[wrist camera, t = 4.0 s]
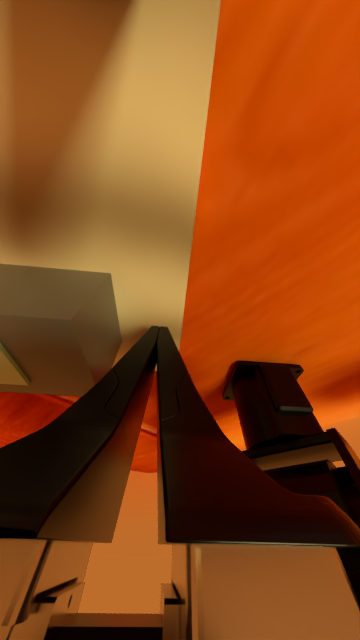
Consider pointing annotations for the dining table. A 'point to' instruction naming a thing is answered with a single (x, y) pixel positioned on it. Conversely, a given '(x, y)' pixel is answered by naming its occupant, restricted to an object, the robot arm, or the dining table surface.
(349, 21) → the dining table surface
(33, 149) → the subfloor board
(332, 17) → the dining table surface
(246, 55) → the dining table surface
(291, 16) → the dining table surface
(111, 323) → the block
